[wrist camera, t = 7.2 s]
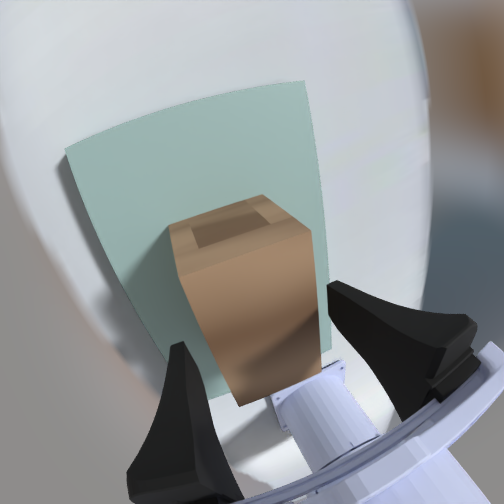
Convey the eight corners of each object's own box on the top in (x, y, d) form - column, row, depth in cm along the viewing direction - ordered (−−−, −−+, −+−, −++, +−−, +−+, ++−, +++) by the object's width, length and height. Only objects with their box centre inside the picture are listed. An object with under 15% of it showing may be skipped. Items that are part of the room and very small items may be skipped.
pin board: (325, 341, 24) (346, 368, 21) (193, 394, 21) (203, 429, 18) (295, 81, 13) (332, 77, 10) (70, 146, 11) (46, 156, 8)
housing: (286, 320, 19) (321, 371, 15) (216, 347, 18) (239, 407, 14) (262, 194, 15) (311, 230, 11) (168, 225, 14) (178, 277, 10)
